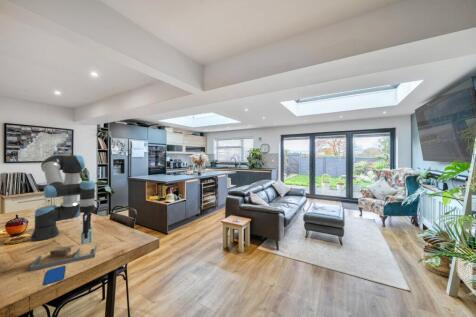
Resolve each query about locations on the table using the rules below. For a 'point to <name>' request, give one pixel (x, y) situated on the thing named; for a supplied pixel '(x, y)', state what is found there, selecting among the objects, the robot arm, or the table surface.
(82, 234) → the teal block
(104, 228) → the table surface
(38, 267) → the slot rack
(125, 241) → the table surface
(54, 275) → the smartphone
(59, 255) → the walnut block
